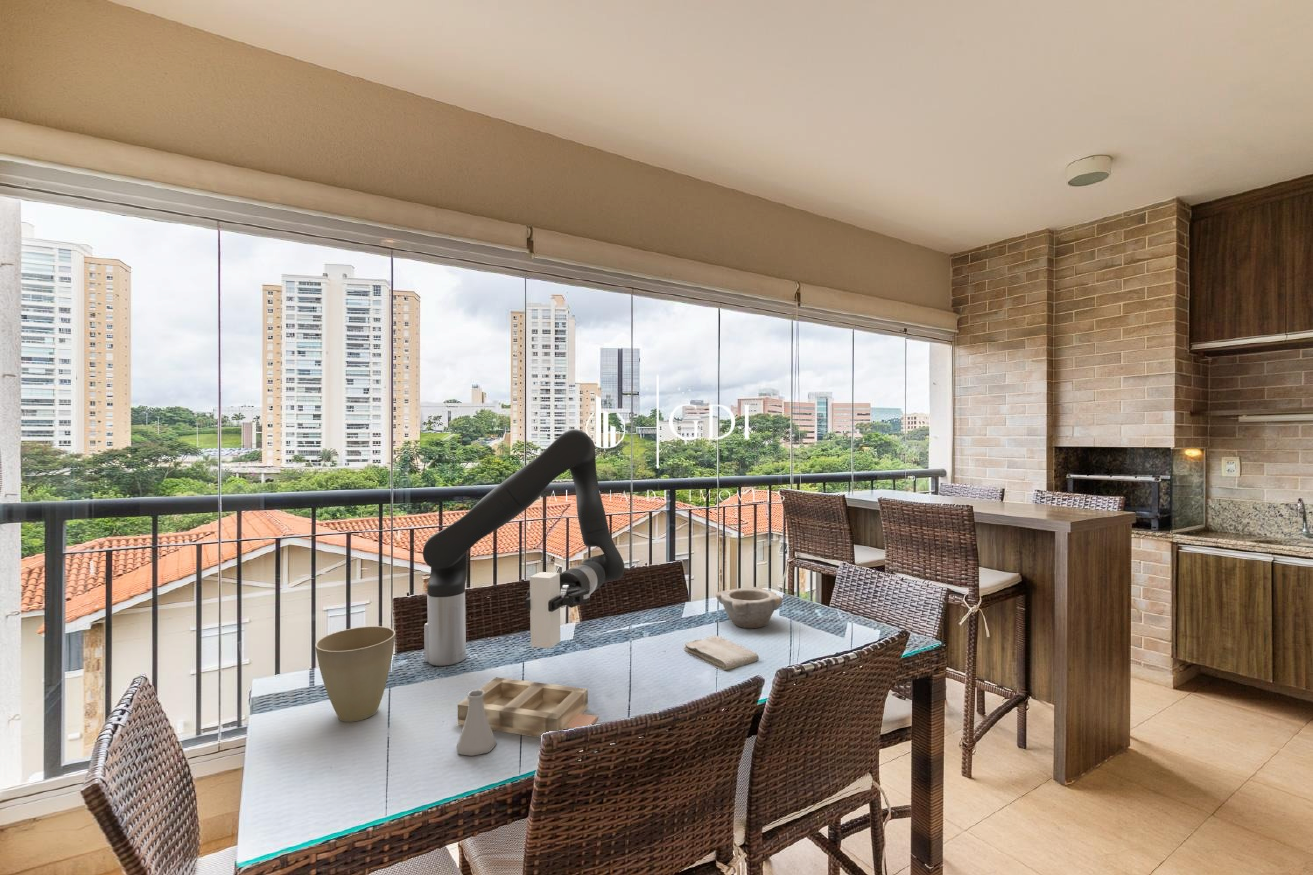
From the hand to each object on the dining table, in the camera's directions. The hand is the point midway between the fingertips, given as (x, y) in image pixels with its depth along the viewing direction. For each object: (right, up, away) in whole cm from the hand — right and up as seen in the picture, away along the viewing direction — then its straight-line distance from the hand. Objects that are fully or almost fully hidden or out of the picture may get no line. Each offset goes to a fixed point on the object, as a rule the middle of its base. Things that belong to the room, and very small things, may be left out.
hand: (538, 605), depth 119 cm
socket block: (-2, -24, +4) cm, 24 cm away
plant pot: (-39, -24, +6) cm, 46 cm away
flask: (-10, -24, -8) cm, 27 cm away
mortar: (+51, -23, +62) cm, 84 cm away
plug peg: (+1, -8, +3) cm, 9 cm away
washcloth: (+40, -24, +37) cm, 59 cm away
